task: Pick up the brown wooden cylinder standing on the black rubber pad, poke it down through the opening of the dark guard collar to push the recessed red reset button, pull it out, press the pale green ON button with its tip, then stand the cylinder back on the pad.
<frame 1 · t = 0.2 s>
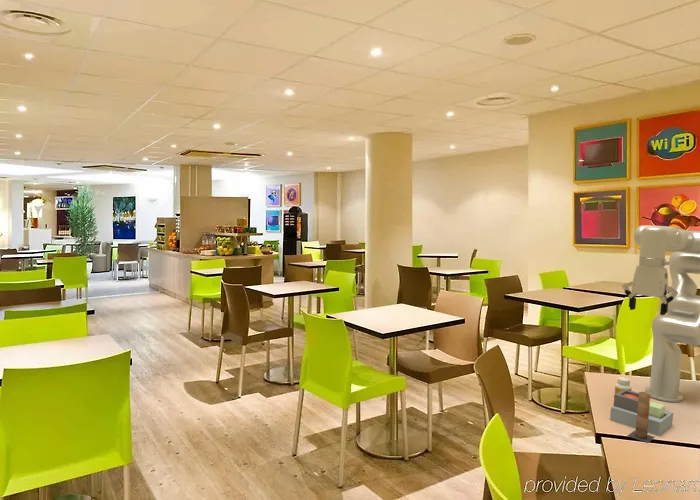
hand: (647, 312, 177), 36 cm above the table, tool pointing down, fingers open, 9 cm apart
reset button: (630, 403, 174), point 6 cm above the table, slide at 0.0 cm
brown wooden cylinder: (641, 436, 161), point 1 cm above the table, touching pad
pad: (640, 438, 161), on the table
supplement bottle: (622, 404, 188), on the table
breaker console: (640, 424, 172), on the table
on button: (654, 412, 168), point 5 cm above the table, slide at 0.0 cm
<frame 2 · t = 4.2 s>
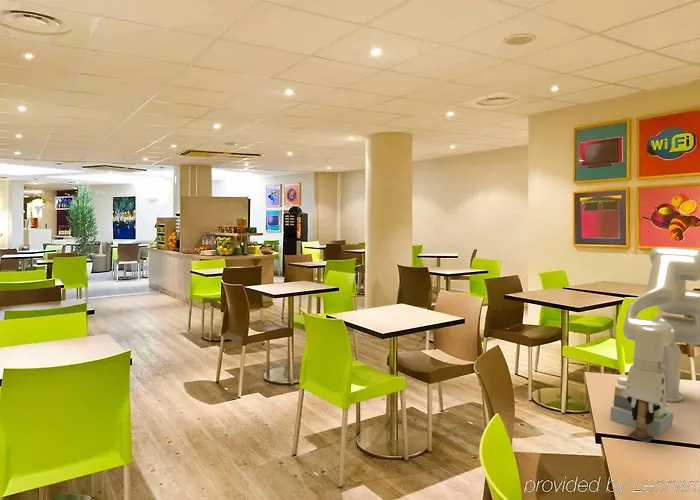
hand: (642, 420, 161), 6 cm above the table, tool pointing down, fingers closed on brown wooden cylinder, 3 cm apart
brown wooden cylinder: (641, 436, 161), point 1 cm above the table, touching gripper, pad
everything else where it was.
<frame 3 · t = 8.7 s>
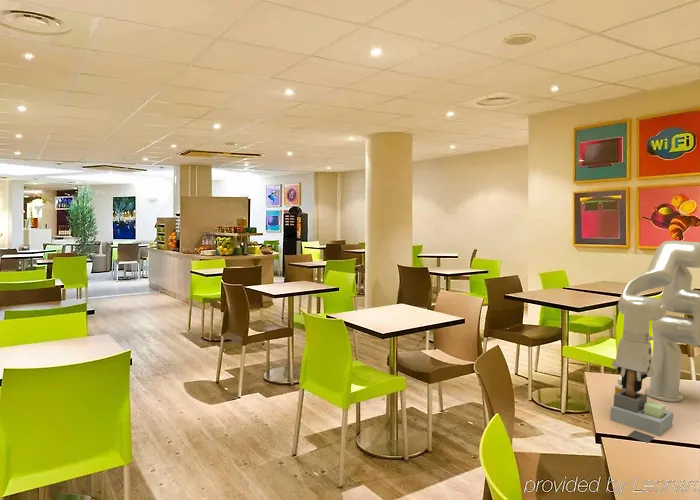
hand: (631, 388, 173), 11 cm above the table, tool pointing down, fingers closed on brown wooden cylinder, 3 cm apart
reset button: (629, 410, 174), point 3 cm above the table, slide at 2.5 cm, touching brown wooden cylinder
brown wooden cylinder: (629, 403, 174), point 6 cm above the table, touching gripper, reset button
everything else where it was.
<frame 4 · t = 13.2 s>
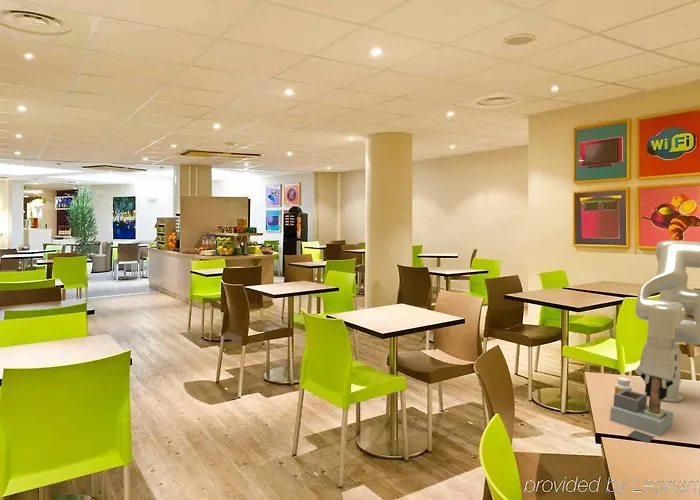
hand: (655, 396, 167), 11 cm above the table, tool pointing down, fingers closed on brown wooden cylinder, 3 cm apart
reset button: (629, 410, 174), point 3 cm above the table, slide at 2.6 cm
brown wooden cylinder: (654, 411, 168), point 6 cm above the table, touching gripper, on button
on button: (653, 418, 168), point 3 cm above the table, slide at 2.3 cm, touching brown wooden cylinder
everything else where it was.
when the fingers open (7 cm above the table, at t = 16.6 s): brown wooden cylinder drops 1 cm, resting on pad.
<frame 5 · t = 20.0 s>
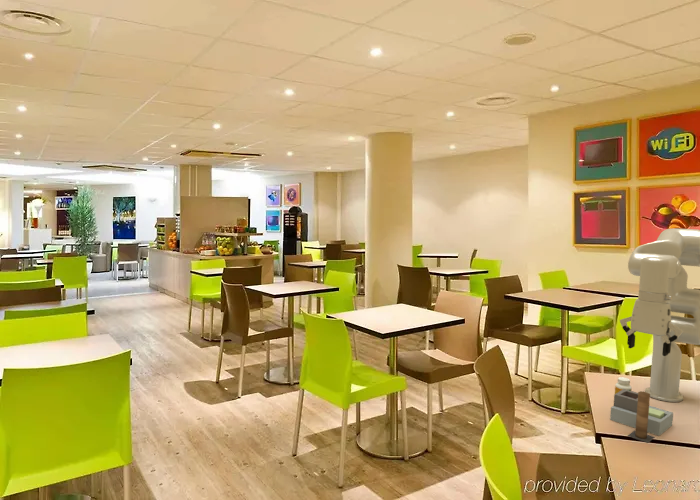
hand: (648, 351, 158), 28 cm above the table, tool pointing down, fingers open, 9 cm apart
brown wooden cylinder: (640, 436, 161), point 1 cm above the table, touching pad
on button: (653, 418, 168), point 3 cm above the table, slide at 2.3 cm
everything else where it was.
at the end: reset button slide at 2.6 cm; on button slide at 2.3 cm; brown wooden cylinder inside the target area on the pad (0.1 cm from its centre), point 0.6 cm above the pad's base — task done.
